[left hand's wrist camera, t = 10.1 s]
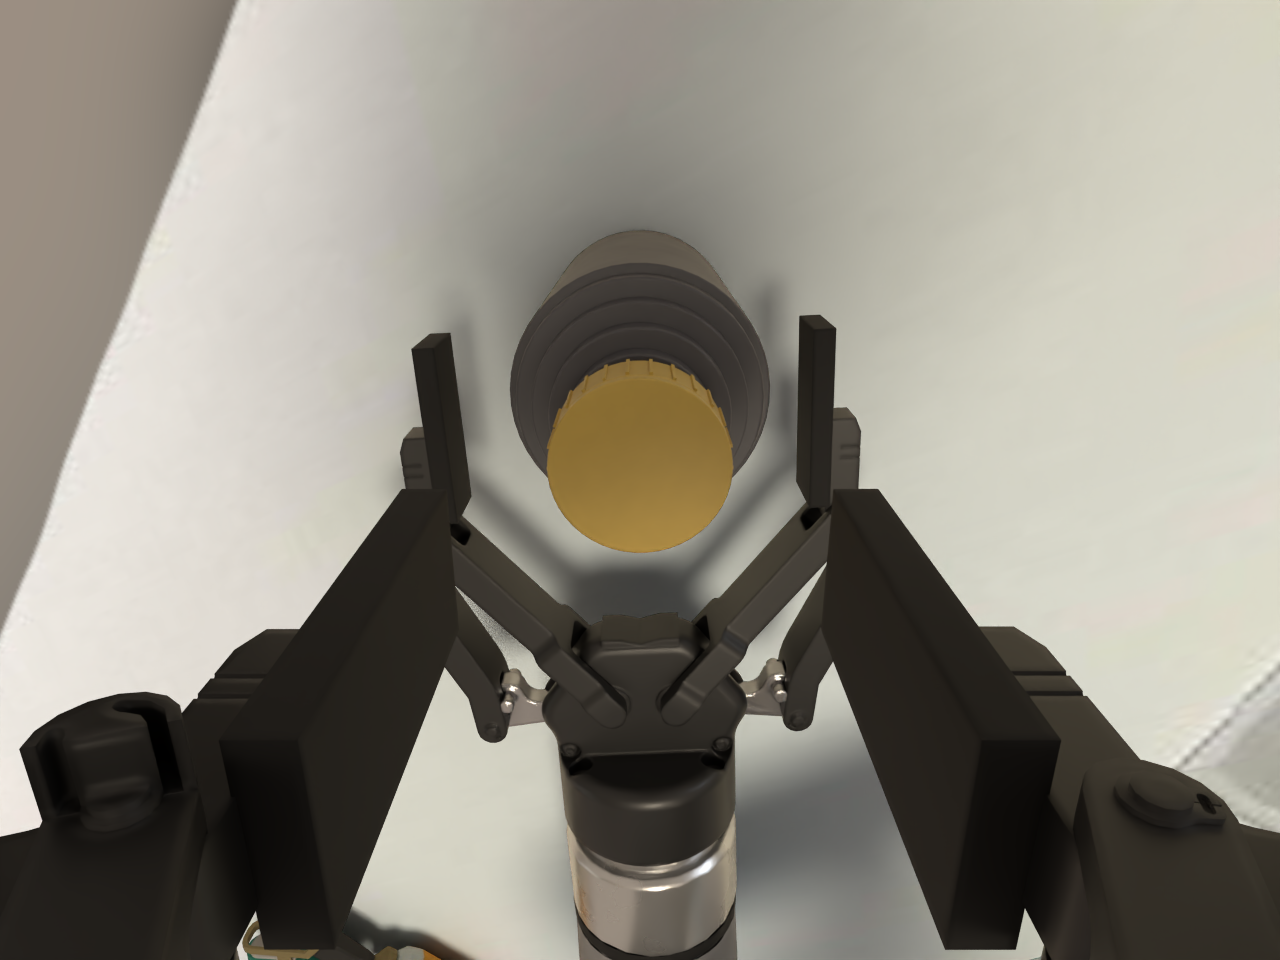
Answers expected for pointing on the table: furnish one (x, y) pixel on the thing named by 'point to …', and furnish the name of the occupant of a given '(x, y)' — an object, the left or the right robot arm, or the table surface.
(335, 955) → the spray gun
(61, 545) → the table surface
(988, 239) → the table surface
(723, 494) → the cap
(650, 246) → the bottle
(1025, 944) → the table surface
